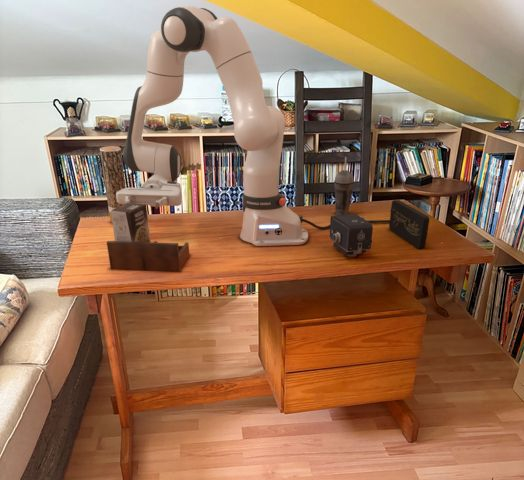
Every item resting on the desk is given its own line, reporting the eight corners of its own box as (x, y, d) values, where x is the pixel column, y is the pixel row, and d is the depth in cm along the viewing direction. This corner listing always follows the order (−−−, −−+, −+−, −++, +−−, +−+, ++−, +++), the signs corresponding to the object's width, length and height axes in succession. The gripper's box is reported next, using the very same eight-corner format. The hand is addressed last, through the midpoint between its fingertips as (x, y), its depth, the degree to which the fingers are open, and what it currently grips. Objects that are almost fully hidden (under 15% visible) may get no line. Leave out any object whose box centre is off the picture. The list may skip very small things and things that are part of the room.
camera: (374, 261, 161) (351, 240, 172) (380, 225, 154) (356, 206, 166) (342, 265, 158) (321, 244, 169) (347, 229, 151) (325, 209, 163)
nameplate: (388, 228, 184) (392, 199, 179) (393, 228, 185) (397, 199, 179) (419, 249, 167) (424, 217, 162) (424, 248, 167) (429, 217, 162)
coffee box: (136, 268, 154) (129, 212, 146) (117, 265, 156) (109, 210, 148) (153, 257, 161) (147, 203, 153) (134, 254, 163) (127, 201, 155)
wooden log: (132, 218, 195) (123, 146, 182) (126, 224, 189) (116, 150, 176) (114, 218, 195) (103, 146, 183) (107, 224, 190) (96, 149, 177)
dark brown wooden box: (189, 255, 163) (187, 229, 159) (179, 271, 152) (177, 244, 148) (125, 252, 165) (121, 227, 161) (110, 269, 153) (106, 242, 149)
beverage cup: (331, 216, 197) (335, 159, 187) (332, 210, 203) (336, 155, 193) (351, 216, 196) (356, 159, 186) (351, 211, 202) (356, 155, 192)
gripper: (122, 181, 174) (108, 192, 162) (184, 183, 172) (174, 194, 161) (125, 200, 177) (110, 212, 165) (186, 202, 176) (176, 215, 164)
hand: (142, 203), depth 163 cm, fingers open, 8 cm apart
